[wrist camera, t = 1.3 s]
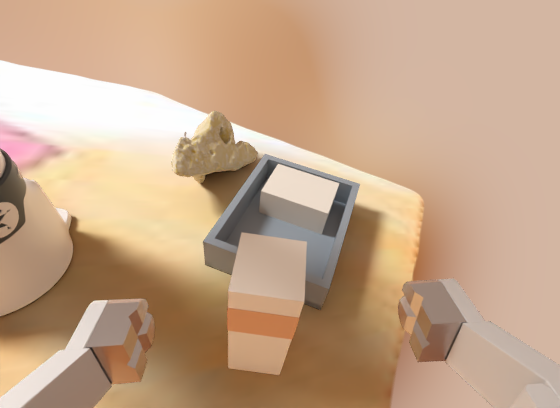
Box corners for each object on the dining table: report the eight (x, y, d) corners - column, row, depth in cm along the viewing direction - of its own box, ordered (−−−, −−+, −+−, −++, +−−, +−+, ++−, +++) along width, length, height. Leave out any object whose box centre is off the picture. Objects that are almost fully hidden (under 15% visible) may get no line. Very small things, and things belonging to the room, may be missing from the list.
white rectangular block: (258, 212, 49) (261, 190, 46) (275, 184, 54) (278, 163, 51) (321, 234, 48) (328, 213, 44) (332, 204, 52) (339, 183, 49)
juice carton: (227, 368, 34) (227, 291, 23) (237, 318, 38) (241, 231, 27) (279, 375, 34) (305, 302, 23) (284, 325, 38) (307, 241, 27)
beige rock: (235, 149, 65) (167, 108, 55) (260, 133, 60) (192, 86, 51) (227, 218, 58) (148, 185, 48) (255, 207, 53) (175, 168, 44)
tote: (205, 264, 43) (203, 241, 39) (262, 177, 57) (265, 153, 53) (320, 310, 40) (329, 289, 37) (351, 206, 54) (359, 184, 50)
